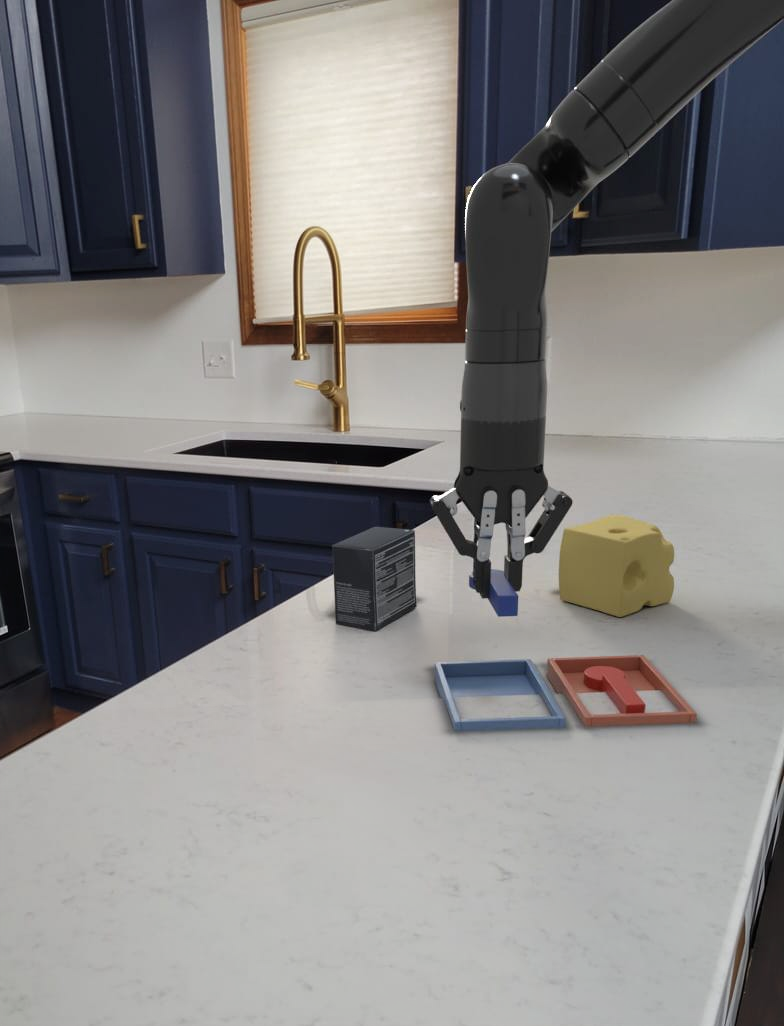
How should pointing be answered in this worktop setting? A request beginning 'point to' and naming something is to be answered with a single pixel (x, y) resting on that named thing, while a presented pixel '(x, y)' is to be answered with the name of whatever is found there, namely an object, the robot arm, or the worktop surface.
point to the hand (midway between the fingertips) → (497, 595)
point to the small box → (374, 577)
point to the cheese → (615, 565)
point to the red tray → (637, 674)
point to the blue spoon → (500, 594)
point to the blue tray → (495, 691)
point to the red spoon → (614, 688)
